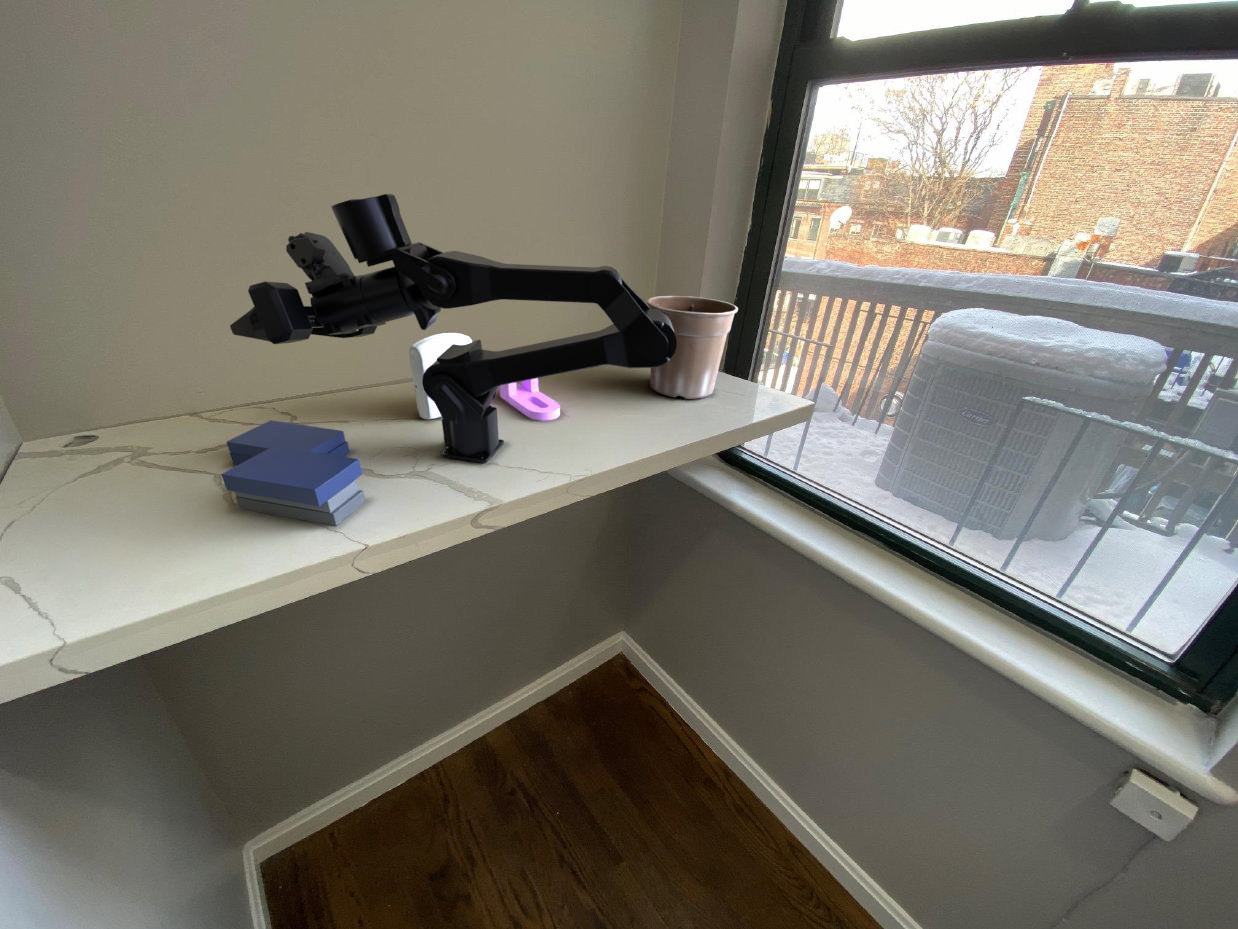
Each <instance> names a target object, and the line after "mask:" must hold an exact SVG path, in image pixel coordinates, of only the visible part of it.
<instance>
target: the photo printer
mask: <svg viewBox="0 0 1238 929" xmlns="http://www.w3.org/2000/svg"><path fill="white" fill-rule="evenodd" d="M471 342H473V340H472V339H471V337H470V336H468V335H465V334H462V333H457V332H443V333H442V332H441V333H436V334H433V335H429V336H427V337H424V338H422V339H420V340H418V341H416V342H414V343H413V344H411V345H410V347H409V350H408V354H409V355H408V356H409V362H410V369H411V375H412V381H413V382H412V383H413V388H414V395H415V401H416V408H417V412H418V414H419V417H420V418H421V419H424V420H433V419H438V418H442V416H441V414H440V412H439V410H438V408H437V406H436V404H435V402H434V401H432V400H431V399H430V398H429V397H428V396H427V394H426V392H425V391H424V388H423V384H422V380H423V375H424V373H425V371H426V369H427V368H428V367H430V366H431V365H432V364H433V363H434V362H435V361H436V359H437V358H438V357H439V356H440V355H441V354H442V353H443V352H445V351H446V350H447V349H448V348H449V347H450V346H451V345H452V344H456V345H465V344H469V343H471Z"/></svg>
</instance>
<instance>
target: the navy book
mask: <svg viewBox="0 0 1238 929" xmlns="http://www.w3.org/2000/svg"><path fill="white" fill-rule="evenodd" d="M362 475H363V471H362V466H361V461H360V459H359V458H355V457H348V456H336V455H330V454H323V453H317V452H311V451H304V450H298V449H291V448H285V447H279V446H272V447H271V448H269V449H267V450H265V451H263V452H261V453H259V454H258V455H256V456H254V457H252V458H250V459H248V460H247V461H245V462H243V463H241V464H239V465H234V466H233V467H232V468H230V469H228V470H226V471H225V472H222V473H221V474H220V476H221V479H222V481H223V483H224V487H225V489H226V491H228V492H233V493H235V492H239V493H245V494H250V495H256V496H262V497H268V498H273V499H279V500H285V501H291V502H296V503H302V504H308V505H314V506H321V505H322V504H323V503H325V502H326V501H327V500H329V499H330V498H331V497H333V496H334V495H335V494H337V493H338V492H339V491H341V490H342V489H343V488H345V487H346V486H347V485H349V484H350V483H351V482H353V481H354V480H355V479H357V480H358V478H360V477H362Z"/></svg>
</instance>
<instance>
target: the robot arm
mask: <svg viewBox="0 0 1238 929" xmlns="http://www.w3.org/2000/svg"><path fill="white" fill-rule="evenodd" d="M399 206H400V205H399V203H398V201H397V198H396V196H395V195H394V194H393V193H383V194H379V195H376V196H371V197H366V198H354V199H353V198H352V199H348V200H344V201H341V202H338V203H336V204H333V205H331V206H330V208H331V210H332V212H333V215H334V217H335V219H336V221H337V223H338V225H339V228H340V230H341V232H342V235H343V237H344V239H345V240H346V243H347V245H348V247H349V250H350V252H351V254H352V256H353V258H354V260H357V262H358V263H359V264H362V263H366V265H367V267H368V268H369V267H373V266H376V265H381V264H383V263H387V262H391V261H392V264H393V265H394V266H391V267H388V268H383V269H380V270H376V271H373V272H369V273H365V274H359V275H355V274H354V272H353V270H352V269H351V266H350V265H349V263H348V262H347V261H346V259H345V258H344V257H343V255H342V254H341V252H340V251H339V250H338V248H337V247H336V246H335V244H334V243H333V242H332V241H331V239H329V238H328V237H327V236H325V235H323V234H319V233H318V234H317V233H314V232H311V231H305V232H303V233H302V232H300V233H299V234H297V235H289V237H288V239H287V240H288V243H287V244H286V246H285V251H286V253H287V254H288V256H289V257H290V259H291V260H292V261H293V262H294V264H295V265H296V267H298V268H299V269H301V270H302V271H303V273H304V274H305V276H307V278H308V279H309V280H310V281H306V282H304V285H305V288H306V290H307V293H308V294H309V295H311V297H309V298H310V299H309V300H310V305H305V304H304V303H303V300H302V298H301V294H300V293H299V290H298V288H296V287H294V286H293V285H291V284H289V283H287V282H279V281H278V282H277V281H265V280H264V281H262V282H259V283H258V282H257V283H255V284H251V285H249V286H248V290H247V292H248V294H249V297H250V300H251V301H252V304H253V307H251V309H250V310H249V311H247V312H246V313H244V314H243V315H241V317H239V318H237V319H236V320H234V322H233V323H231V324H230V325H229V328H230V331H231V332H232V334H233V336H239V337H245V338H250V339H255V340H261V341H265V342H268V343H269V342H270V343H271V344H272V345H281V344H283V345H284V344H292V343H297V342H302V341H307V340H309V339H310V337H311V335H314V336H322V337H330V338H338V339H339V338H340V339H349V338H362V337H366V336H369V335H374V334H375V333H376V330H377V328H378V327H380V326H383V325H386V324H387V323H388V322H392V321H395V320H400V319H402V318H408V317H411V316H415V318H416V321H417V323H418V325H419V328H420V330H422V331H426V330H427V329H429V328H430V327H431V326H433V325H434V324H435V323H436V320H437V318H438V315H439V314H440V312H441V311H442V309H444V310H446V309H447V310H449V309H457V308H464V307H469V306H475V305H480V304H484V303H488V302H493V301H500V300H501V301H503V300H506V301H534V302H535V301H536V302H555V303H578V304H579V303H583V304H584V303H585V304H596V305H598V306H599V307H600V309H601V310H602V311H603V312H604V314H606V316H607V317H608V319H609V321H611V322H612V323H611V324H610V325H608V326H606V327H605V328H602V329H600V330H597V331H592V332H587V333H581V334H575V335H572V336H571V335H570V336H566V337H561V338H557V339H552V340H548V341H541V342H537V343H532V344H527V345H523V346H517V347H512V348H508V349H503V350H497V351H496V350H495V351H494V350H488V349H483V346H482V340H481V339H476V340H474V341H473V340H472V342H471V343H469V344H465V345H456V344H452V345H451V346H450V347H449V348H448V349H447V350H446V351H445V352H443V353H442V354H441V355H440V356H439V357H438V358H437V359H436V361H435V362H434V363H433V364H432V365H431V366H430V367H428V368H427V369H426V371H425V373H424V375H423V380H422V384H423V388H424V391H425V392H426V394H427V396H428V397H429V398H430V399H431V400H432V401H434V402H435V404H436V406H437V408H438V410H439V412H440V414H441V418H442V419H441V426H442V435H443V444H444V447H445V449H444V450H443V451H442V453H441V456H442V457H444V458H449V459H456V460H462V461H468V462H469V461H470V462H475V463H482V464H483V463H487V462H489V461H490V460H491V459H492V457H493V456H494V455H495V454H496V453H497V452H498V451H499V450H500V449H501V448H502V447H503V445H505V440H504V439H500V438H499V437H500V436H499V421H498V420H499V419H498V408H497V407H495V406H491V403H492V402H493V401H494V400H495V398H496V395H497V392H498V389H499V386H501V385H506V384H511V383H516V384H517V383H521V381H526V380H531V379H536V378H538V379H541V378H546V377H552V376H556V375H557V376H558V375H561V374H566V373H572V372H576V371H581V370H586V369H593V368H597V367H601V366H612V367H618V368H624V369H651V368H657V367H660V366H663V365H665V364H666V363H668V362H669V360H670V359H671V358H672V356H673V355H674V353H675V350H676V347H677V339H676V335H675V332H674V329H673V326H672V323H671V321H670V319H669V318H668V317H667V315H665V314H664V313H662V312H661V311H659V310H656V309H650V308H649V305H648V304H647V302H645V301H644V300H643V298H642V297H641V296H640V295H639V294H638V293H637V292H636V291H635V290H634V289H632V288H631V286H629V284H628V283H627V282H626V281H625V280H624V279H623V277H621V274H620V272H618V270H617V269H616V268H614V267H613V266H610V265H601V266H596V267H595V266H594V267H592V266H568V265H546V264H545V265H543V264H520V263H517V264H516V263H504V262H500V261H496V260H492V259H489V258H487V257H484V256H481V255H476V254H473V253H472V254H471V253H467V252H464V251H459V250H450V251H449V250H448V251H445V252H443V251H441V250H438V248H437V249H436V248H435V247H432V246H430V245H427V244H425V243H423V242H420V241H417V242H413V243H412V240H411V238H410V234H409V233H408V230H407V227H406V225H405V222H404V220H403V218H402V215H401V211H400V207H399Z"/></svg>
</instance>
